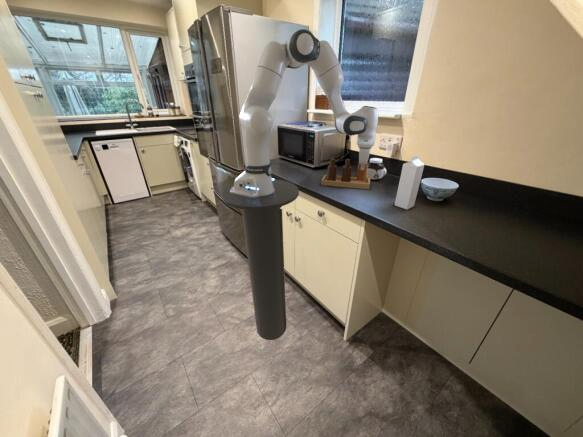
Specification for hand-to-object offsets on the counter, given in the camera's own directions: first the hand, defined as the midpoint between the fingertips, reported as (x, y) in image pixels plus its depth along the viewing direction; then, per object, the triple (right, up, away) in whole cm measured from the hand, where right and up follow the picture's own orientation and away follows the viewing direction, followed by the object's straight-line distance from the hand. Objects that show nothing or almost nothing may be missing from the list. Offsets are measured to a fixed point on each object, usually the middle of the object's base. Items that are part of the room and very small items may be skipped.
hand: (362, 168), depth 124 cm
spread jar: (+12, -3, +15) cm, 20 cm away
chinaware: (+31, -18, -13) cm, 38 cm away
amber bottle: (0, -6, +3) cm, 6 cm away
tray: (-8, -8, +6) cm, 12 cm away
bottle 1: (-15, -6, +8) cm, 18 cm away
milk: (+13, -21, -20) cm, 32 cm away
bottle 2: (-8, -7, +6) cm, 12 cm away
